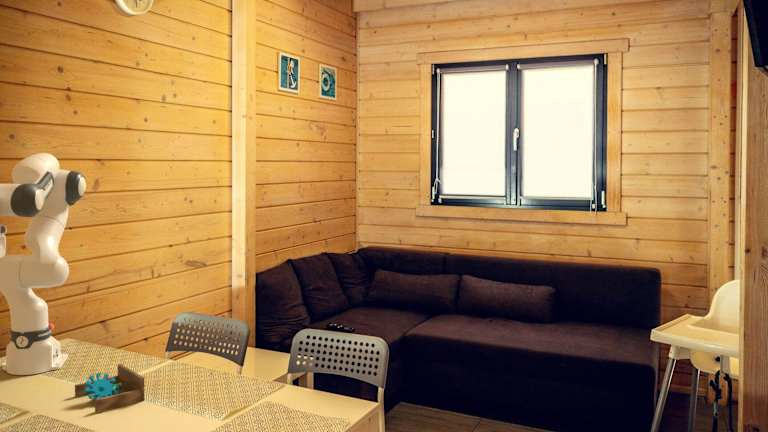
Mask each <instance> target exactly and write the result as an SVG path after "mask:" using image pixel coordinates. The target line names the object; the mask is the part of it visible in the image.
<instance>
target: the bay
mask: <svg viewBox="0 0 768 432" xmlns="http://www.w3.org/2000/svg"><path fill="white" fill-rule="evenodd" d="M112 378H115V382H114V383H112V382H110V383H111V384H118V383H119V382H121V383H122V385H121V386H120V387H119V388H120V389H122V390H123V391H124V392H121V393H120V392H119V393H118V394H116V395H114V394H112V396H108V397H102V398H100V399H96V398H94V412H95V413H101V412H104V411H108V410H112V409H116V408H120V407H124V406H127V405H131V404H132V405H133V404H135V403H139V402H143V401H144V402H145V377H144V376H142V375H141V374H139V373H138V372H135V371H134V370H132V369H130V368H128V367H127V366H125V365H123V364H121V363H120V364H117V375H115V376H109V377H108V378H107V379H105V380H110V379H112ZM94 380H95V379H94ZM96 380H97V379H96ZM96 380H95V381H96ZM89 381H90V383H91V384H93V383H92V381H91V380H89ZM85 383H86V382H82V383H77V384H74V397H75V398H78V397H79V398H80V397H83V396H88V395H89V394H93V393H92V392H85V388H86V387H89V388H90V389H92V388H91V387H90V386H87V385H85Z"/></svg>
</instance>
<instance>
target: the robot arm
mask: <svg viewBox="0 0 768 432" xmlns="http://www.w3.org/2000/svg"><path fill="white" fill-rule="evenodd" d="M60 168H61V167H60V162H59V160H58V159H57V157H55V156H54V155H53V154H51V153H47V152H39V153H34V154H31V155H29V156H27V157H25V158H23V159H21V160H20V161H18V162H17V164H16V165H14V167H13V168H12V172H11V179H12V181H13V183H0V217H22V218H23V217H24V218H31V220H30V222H29V223H28V226H27V228H26V230H25V232H24V235H23V241H24V244H25V246H26V247H27V248H28V250H30V251H32V253H30V254H6V253H7V237H6V235H5V234H7V233H8V230H7V229H8V228H7V226H6V225H4V224H1V223H0V292H1V293H2V295H3V296H4V298H5V300H6V302H7V305H8V307H9V313H10V325H11V326H10V329H9V341H10V342H9V343H8V344H7V345H6V351H5V352H6V353H5V354H6V355H5V364H4V365H2V367H1V370H2V371H5V372H6V373H8V375H9V374H10V375H12V376H31V375H36V374H43V373H46V372H50V371H54V370H55V371H56V370H60V369H61V368H62V367H63V365H64V364H65V362H66V360H67V359H68V358H69V354H68V353H66V352H62V350H61V349H62V347H61V346H62V345H61V342H60V341H59V340H57V339H56V338H54V337H53V336H52V331H53V330H54V327H55V326H54V324H53V323H49V306H48V304H47V302H46V301H45V300H44V299H43V298H41V297H38V296H37V295H36V294H35V292H34V291H33V289H34V288H35V289H49V288H53V287H60V286H63V284H64V283H65V282H66V281H67V280H68V278H69V275H70V268H69V264H68V262H67V260H66V259H65V258H63V256H61V254H60V252H59V245H60V242H61V239H62V237H63V234H64V231H65V229H66V226H67V223H68V217H69V207H71V206H74V205H75V204H76V203H77V202H78V201H79V200H81V199H82V198H83V197H84V196H85V193H86V190H87V181H86V178H85V177H86V176H84V174H83V173H82V172H79V171H75V170H67V169H60Z"/></svg>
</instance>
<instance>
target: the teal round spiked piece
mask: <svg viewBox="0 0 768 432" xmlns="http://www.w3.org/2000/svg"><path fill="white" fill-rule="evenodd" d="M101 376H102V373H101V372H97V373H96V374H95V375H93V374H92V375H90V376H89V377H88V380H86V381H85V382H84V383H85V385H87V386H90V387H91V388H92V389H90V388H89V387H86V388H85V392H92V394H88V395H87V396H88V399H89V400H92V399H93V398H94V399H100V398H104V397H108V396H112V395H116V394H120V391H119V388H120V386H121V385H122V383H121V382H119V383H118V384H111V383H110V382H112V383H114V382H115V378H112V379H110V380H105V379H107V378H109V377H110V375H109V374H108V373H105V374H104V375H103V378H101ZM95 377H96V381H95ZM90 381H92V383H93V384H91V383H90Z"/></svg>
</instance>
